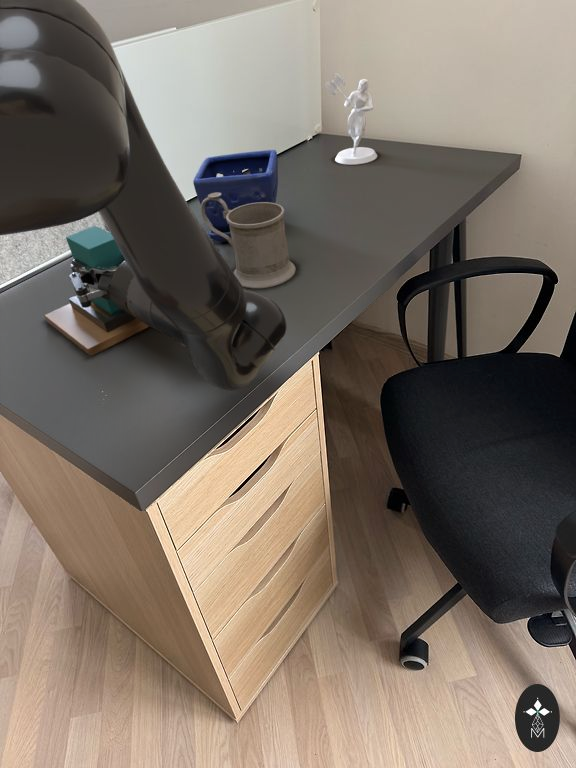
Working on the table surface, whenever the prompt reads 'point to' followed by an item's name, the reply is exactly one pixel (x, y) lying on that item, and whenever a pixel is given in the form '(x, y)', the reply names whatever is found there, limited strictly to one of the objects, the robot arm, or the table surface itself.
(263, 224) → the mug
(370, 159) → the figurine
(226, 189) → the flower pot
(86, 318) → the cork base pad
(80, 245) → the foam pad
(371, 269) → the table surface
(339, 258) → the table surface
